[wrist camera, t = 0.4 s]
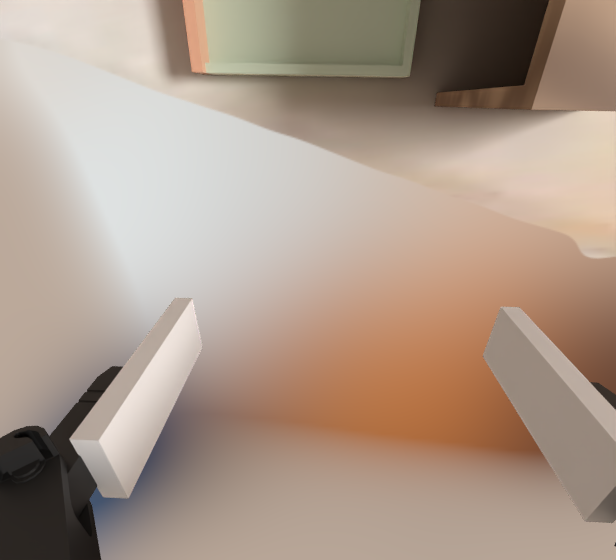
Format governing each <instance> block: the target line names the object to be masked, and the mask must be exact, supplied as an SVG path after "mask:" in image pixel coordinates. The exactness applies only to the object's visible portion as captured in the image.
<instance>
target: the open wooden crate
mask: <svg viewBox="0 0 616 560" xmlns="http://www.w3.org/2000/svg"><path fill="white" fill-rule="evenodd" d="M435 106H441V107H470V108H500V109H529V110H579V111H616V0H549V3H548V6H547V9H546V13H545V16H544V20H543V23H542V26H541V30H540V33H539V36H538V40H537V43H536V47H535V50H534V53H533V57H532V60H531V63H530V67H529V70H528V74H527V77H526V80H525V84H524V85H521V86H509V87H497V88H486V89H474V90H462V91H451V92H439V93H437V95H436V101H435Z"/></svg>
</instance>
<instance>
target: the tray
mask: <svg viewBox="0 0 616 560" xmlns="http://www.w3.org/2000/svg"><path fill="white" fill-rule="evenodd" d="M182 2H183V9H184V17H185V24H186V31H187V39H188V46H189V54H190V61H191V68H192V72H195V73H199V74H203V75H262V76H323V77H384V78H406V77H409V76H410V71H411V65H412V58H413V51H414V44H415V37H416V30H417V23H418V16H419V9H420V3H421V0H182Z"/></svg>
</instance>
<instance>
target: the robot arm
mask: <svg viewBox="0 0 616 560" xmlns="http://www.w3.org/2000/svg"><path fill="white" fill-rule="evenodd" d="M201 349H202V342H201V338H200V333H199V328H198V323H197V318H196V313H195V309H194V304H193V299H192V298H175V299H174V300H173V301H172V303H171V304H170V305H169V307H168V308H167V309H166V311H165V312H164V313H163V315H162V316H161V317H160V319H159V320H158V321H157V323H156V324H155V325H154V327H153V328H152V329H151V331H150V332H149V333H148V335H147V336H146V337H145V339H144V340H143V341H142V343H141V344H140V345H139V347H138V348H137V349H136V351H135V352H134V353H133V355H132V356H131V357H130V359H129V360H128V362H127V363H126V364H125V366H124V367H117V366H116V367H115V366H112V367H111V368H109V369H108V370H107V371H105V372H104V373H102V374H101V375H100V376H98V377H97V378H96V380H95V381H94V382H93V383H92V385H91V386H90V387H89V388H88V389H87V392H85V393H84V394H83V396H82V397H81V398H80V399H79V402H78V403H76V404H75V405H74V407H73V408H72V409H71V410H70V412H69V413H68V414H67V415H66V417H65V418H64V419H63V420H62V421H61V423H60V424H59V425H58V426H57V428H56V429H55V430H54V431H53V432H52V434H51V435H50V436H49V435H48V434H47V432H46V431H45V429H44V428H41V427H39V426H26V427H24V428H20V429H17V430H14V431H12V432H10V433H9V434H7V435H5V436H3V437H2V438H0V560H101V556H100V550H99V544H98V538H97V532H96V527H95V520H94V514H93V509H92V505H91V502H90V501H89V499H90V497H91V496H92V494H93V492H94V490H95V489H96V487H97V488H98V489H99V491H100V492H101V494H102V496H103V497H112V498H129V496H130V494H131V492H132V490H133V488H134V486H135V484H136V482H137V480H138V478H139V475H140V473H141V472H142V469H143V467H144V465H145V463H146V461H147V459H148V457H149V455H150V453H151V451H152V449H153V447H154V445H155V443H156V441H157V439H158V437H159V435H160V433H161V431H162V428H163V426H164V425H165V422H166V420H167V418H168V416H169V414H170V412H171V410H172V408H173V406H174V404H175V402H176V400H177V398H178V396H179V394H180V392H181V390H182V388H183V386H184V384H185V382H186V380H187V378H188V375H189V373H190V371H191V369H192V367H193V365H194V363H195V361H196V359H197V357H198V355H199V353H200V351H201ZM483 357H484V359H485V361H486V362H487V364H488V366H489V367H490V369H491V370H492V372H493V374H494V375H495V377H496V378H497V380H498V382H499V383H500V385H501V387H502V388H503V390H504V392H505V393H506V394H507V396H508V398H509V400H510V401H511V403H512V404H513V406H514V408H515V409H516V411H517V413H518V414H519V416H520V417H521V419H522V421H523V422H524V424H525V426H526V427H527V428H528V430H529V432H530V434H531V435H532V437H533V439H534V440H535V442H536V443H537V445H538V446H539V448H540V450H541V451H542V453H543V455H544V456H545V458H546V460H547V461H548V463H549V464H550V466H551V468H552V469H553V471H554V472H555V474H556V476H557V477H558V479H559V481H560V482H561V484H562V485H563V487H564V489H565V490H566V492H567V494H568V495H569V497H570V498H571V500H572V502H573V503H574V505H575V506H576V508H577V510H578V511H579V513H580V515H581V516H582V518H583V520H584V521H586V522H607V523H613V522H614V521H615V520H616V395H615V394H614V393H612V392H611V391H609V390H608V389H606V388H605V387H603V386H602V385H600V384H599V383H592V382H589V381H588V380H587V379H586V378H585V377H584V376H583V375H582V374H581V372H580V371H579V370H578V369H577V368H576V367H575V366H574V365H573V364H572V363H571V362H570V361H569V360H568V359H567V358H566V356H565V355H564V354H563V353H562V352H561V351H560V350H559V349H558V348H557V347H556V346H555V345H554V344H553V343H552V342H551V341H550V339H549V338H548V337H547V336H546V335H545V334H544V333H543V332H542V331H541V330H540V329H539V328H538V327H537V326H536V325H535V323H534V322H533V321H532V320H531V319H530V318H529V317H528V316H527V315H526V314H525V313H524V312H523V311H522V310H521V309H520V308H519V307H501V308H500V310H499V313H498V316H497V318H496V321H495V324H494V327H493V329H492V332H491V335H490V338H489V340H488V343H487V346H486V349H485V351H484V354H483ZM615 546H616V543H615Z"/></svg>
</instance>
